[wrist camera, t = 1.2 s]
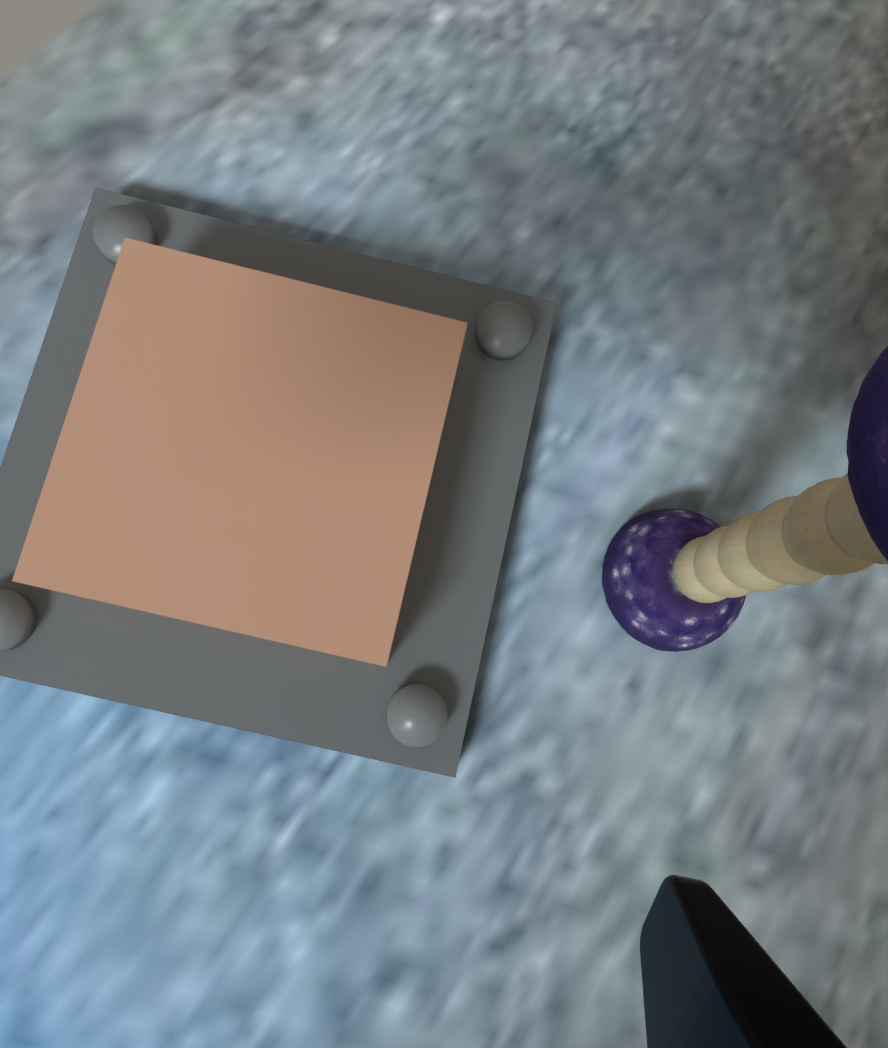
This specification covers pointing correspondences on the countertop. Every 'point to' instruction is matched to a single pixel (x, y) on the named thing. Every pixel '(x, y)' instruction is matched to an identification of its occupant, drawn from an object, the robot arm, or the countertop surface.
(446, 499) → the tower base
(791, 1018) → the robot arm
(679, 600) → the toy lamp
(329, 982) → the countertop surface
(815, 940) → the countertop surface
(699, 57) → the countertop surface
